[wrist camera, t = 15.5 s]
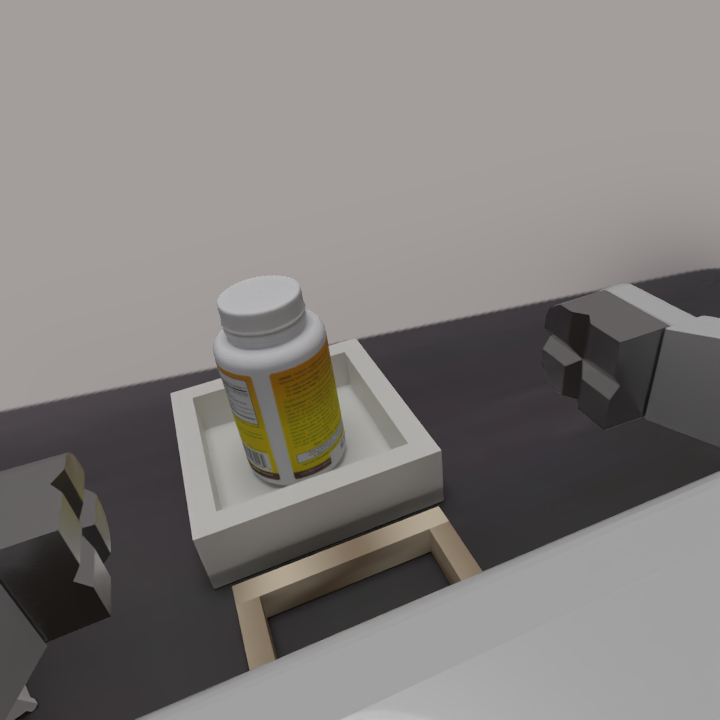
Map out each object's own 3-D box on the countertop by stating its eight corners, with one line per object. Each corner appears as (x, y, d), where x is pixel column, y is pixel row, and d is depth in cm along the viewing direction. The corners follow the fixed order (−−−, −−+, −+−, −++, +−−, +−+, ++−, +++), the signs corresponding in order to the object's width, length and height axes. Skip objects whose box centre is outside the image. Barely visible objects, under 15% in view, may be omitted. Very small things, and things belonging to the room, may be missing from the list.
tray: (213, 589, 26) (192, 540, 24) (187, 436, 36) (170, 393, 34) (443, 500, 29) (441, 450, 27) (361, 381, 39) (355, 338, 37)
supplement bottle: (354, 422, 34) (328, 264, 28) (336, 493, 29) (301, 321, 23) (266, 421, 35) (224, 269, 29) (235, 489, 30) (178, 324, 24)
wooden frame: (299, 880, 17) (289, 863, 16) (240, 607, 25) (232, 586, 24) (573, 736, 20) (577, 713, 19) (440, 528, 28) (438, 506, 27)
